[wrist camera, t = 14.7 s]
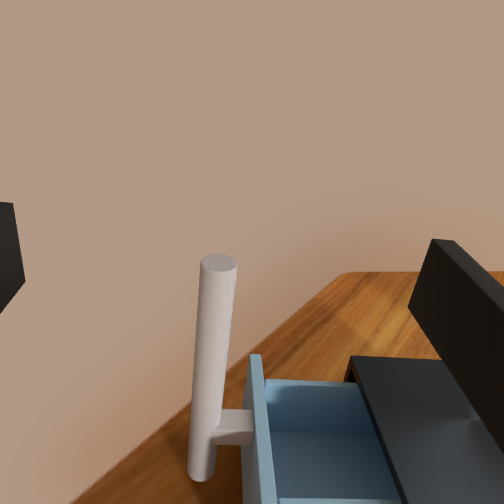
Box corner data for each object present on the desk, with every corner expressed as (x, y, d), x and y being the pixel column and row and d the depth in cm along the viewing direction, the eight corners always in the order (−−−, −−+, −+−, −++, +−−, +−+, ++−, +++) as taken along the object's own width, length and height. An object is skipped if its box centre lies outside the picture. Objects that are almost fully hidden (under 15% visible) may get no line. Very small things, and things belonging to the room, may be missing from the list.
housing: (370, 586, 30) (409, 506, 26) (329, 428, 42) (350, 355, 38) (568, 584, 32) (636, 509, 27) (474, 432, 44) (510, 363, 39)
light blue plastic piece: (177, 585, 28) (192, 336, 18) (191, 420, 40) (205, 215, 30) (456, 583, 30) (605, 357, 21) (391, 427, 42) (464, 237, 33)
